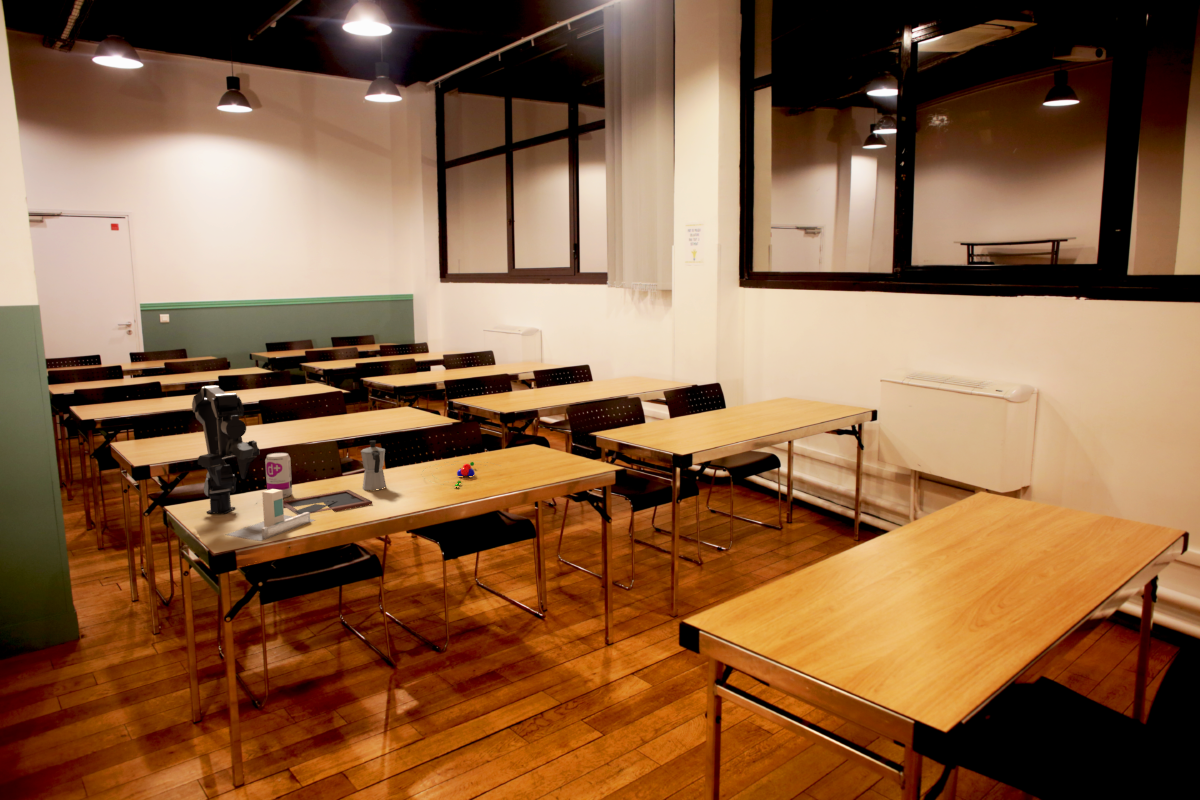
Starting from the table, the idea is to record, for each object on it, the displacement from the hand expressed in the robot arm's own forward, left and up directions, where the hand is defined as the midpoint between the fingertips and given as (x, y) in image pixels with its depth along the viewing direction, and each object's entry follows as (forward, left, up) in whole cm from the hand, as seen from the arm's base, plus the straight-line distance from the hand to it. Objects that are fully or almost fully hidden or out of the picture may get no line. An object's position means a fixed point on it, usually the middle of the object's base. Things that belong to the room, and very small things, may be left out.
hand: (231, 482), depth 239 cm
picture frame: (-22, +20, -14) cm, 33 cm away
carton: (+7, +17, -12) cm, 22 cm away
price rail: (+9, +22, -12) cm, 26 cm away
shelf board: (+7, +16, -13) cm, 22 cm away
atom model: (-65, +58, -13) cm, 88 cm away
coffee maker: (-44, +29, -13) cm, 54 cm away
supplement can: (-31, -1, -13) cm, 34 cm away
